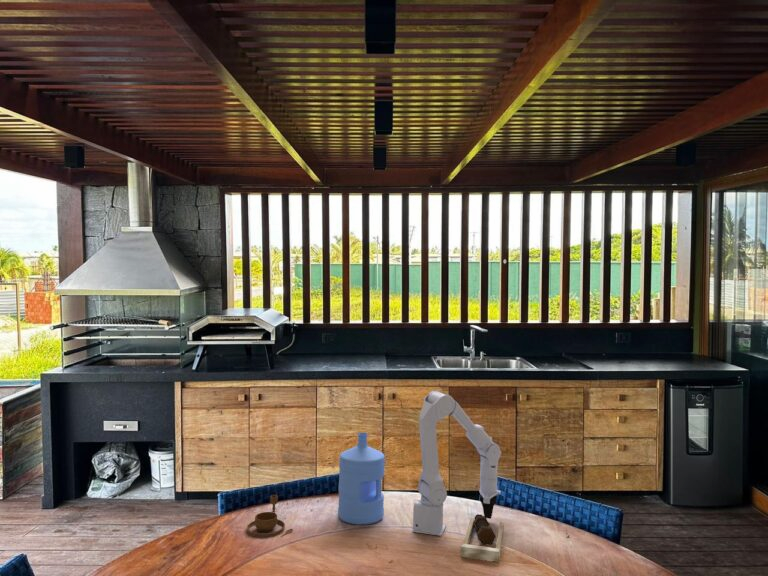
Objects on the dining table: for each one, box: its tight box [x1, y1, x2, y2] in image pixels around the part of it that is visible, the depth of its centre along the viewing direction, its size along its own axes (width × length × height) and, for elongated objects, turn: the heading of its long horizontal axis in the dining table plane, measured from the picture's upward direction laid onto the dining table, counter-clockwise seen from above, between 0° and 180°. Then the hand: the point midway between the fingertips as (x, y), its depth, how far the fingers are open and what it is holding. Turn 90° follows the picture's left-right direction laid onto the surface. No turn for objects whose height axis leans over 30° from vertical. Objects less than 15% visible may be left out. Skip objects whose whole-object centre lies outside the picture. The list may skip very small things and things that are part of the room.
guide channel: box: [460, 517, 505, 563], centre depth 167 cm, size 11×24×3 cm, turn 164°
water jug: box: [337, 432, 386, 526], centre depth 185 cm, size 16×16×28 cm
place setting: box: [246, 494, 294, 538], centre depth 177 cm, size 18×20×6 cm
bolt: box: [473, 513, 496, 545], centre depth 173 cm, size 6×5×15 cm
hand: (488, 517), depth 182 cm, fingers closed
